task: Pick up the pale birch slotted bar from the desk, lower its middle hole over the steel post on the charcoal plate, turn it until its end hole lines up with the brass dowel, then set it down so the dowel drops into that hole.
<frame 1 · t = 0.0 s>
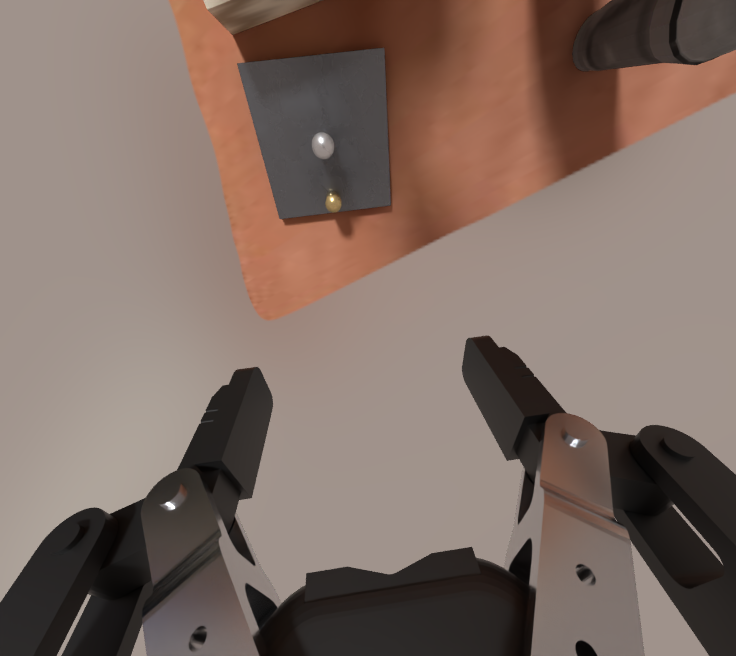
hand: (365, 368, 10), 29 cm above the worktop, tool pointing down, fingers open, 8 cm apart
grey tapered rounded cylinder: (593, 42, 28), on the worktop
mounting plate: (325, 144, 30), on the worktop
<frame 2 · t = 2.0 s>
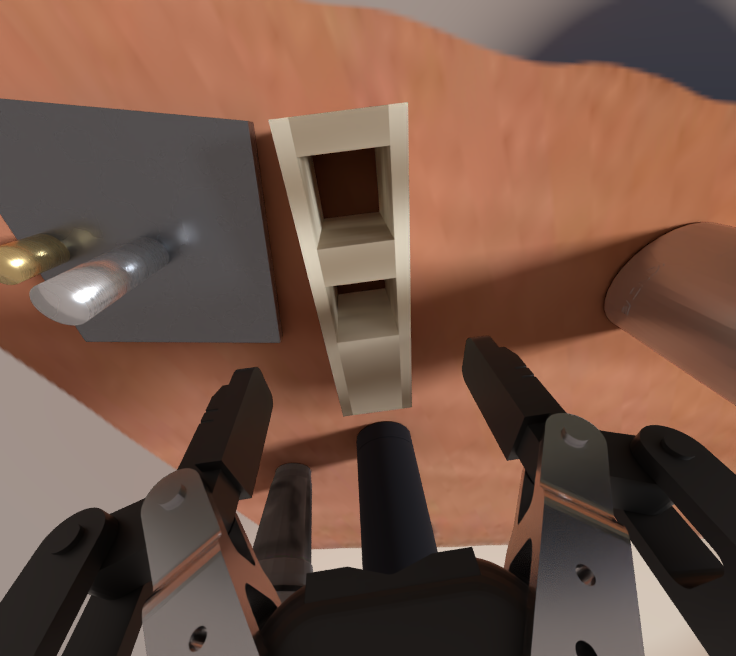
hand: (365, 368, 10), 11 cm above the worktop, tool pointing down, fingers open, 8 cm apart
wine bottle: (383, 436, 32), on the worktop
grey tapered rounded cylinder: (293, 470, 35), on the worktop
mounting plate: (159, 247, 17), on the worktop
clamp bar: (347, 183, 16), on the worktop
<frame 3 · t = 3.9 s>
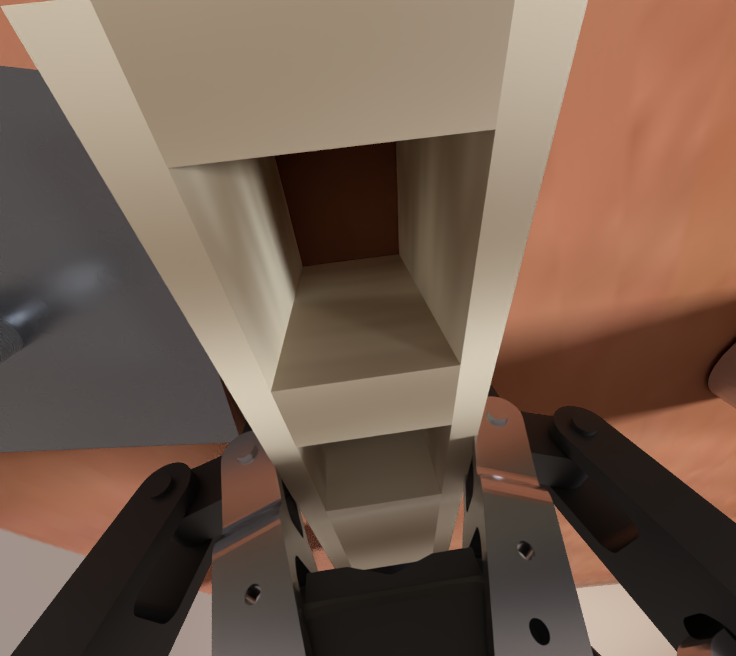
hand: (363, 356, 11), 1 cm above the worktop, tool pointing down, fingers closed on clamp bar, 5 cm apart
mounting plate: (12, 316, 10), on the worktop
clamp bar: (343, 208, 9), on the worktop, touching gripper
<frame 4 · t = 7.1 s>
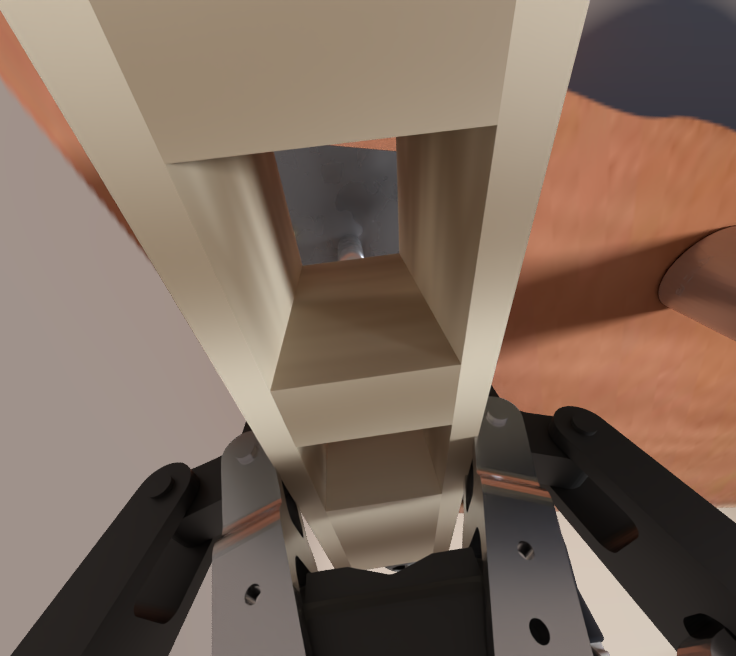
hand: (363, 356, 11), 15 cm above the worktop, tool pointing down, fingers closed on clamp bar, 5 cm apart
wine bottle: (462, 402, 38), on the worktop
mounting plate: (349, 243, 23), on the worktop
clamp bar: (343, 207, 9), point 14 cm above the worktop, touching gripper
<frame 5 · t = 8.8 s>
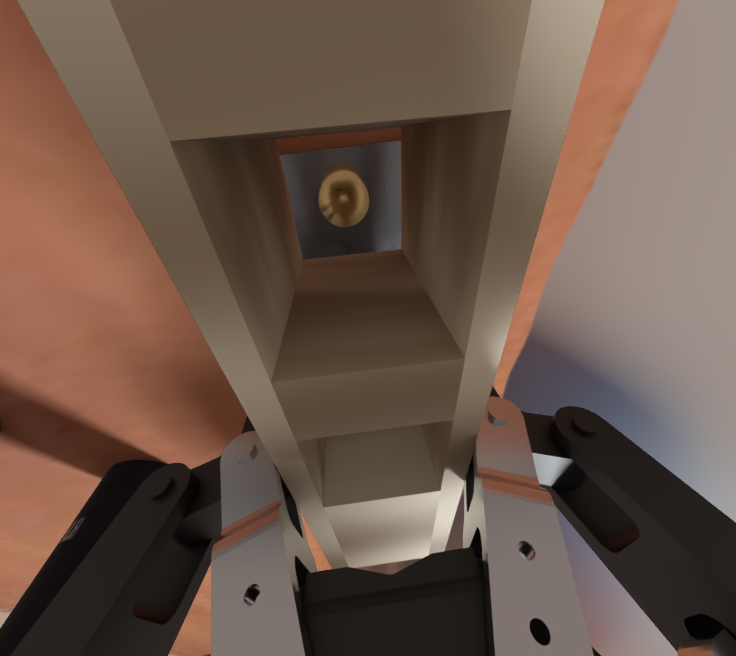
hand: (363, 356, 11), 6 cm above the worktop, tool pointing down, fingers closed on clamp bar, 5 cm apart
wine bottle: (149, 475, 26), on the worktop
mounting plate: (355, 287, 16), on the worktop
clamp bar: (346, 200, 9), point 5 cm above the worktop, touching gripper
when the fingers open (3 cm above the worktop, at t = 10.5 s): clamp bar drops 1 cm, resting on mounting plate.
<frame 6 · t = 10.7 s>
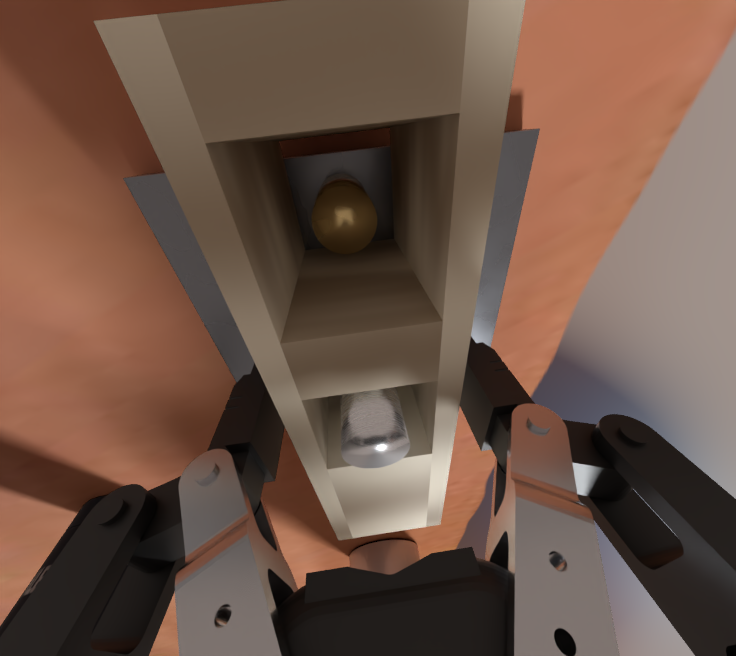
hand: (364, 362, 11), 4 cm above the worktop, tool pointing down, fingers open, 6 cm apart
wine bottle: (130, 508, 23), on the worktop
mounting plate: (358, 313, 14), on the worktop
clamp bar: (343, 195, 10), point 1 cm above the worktop, touching mounting plate
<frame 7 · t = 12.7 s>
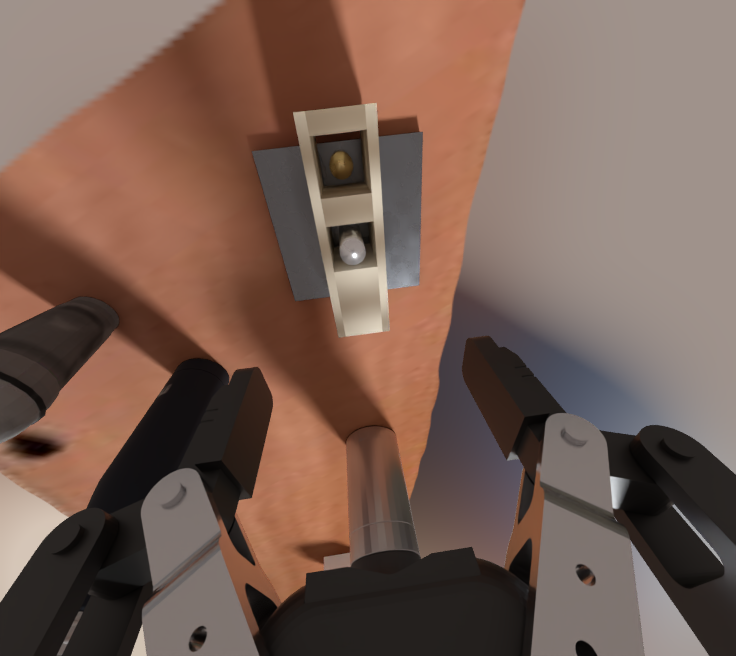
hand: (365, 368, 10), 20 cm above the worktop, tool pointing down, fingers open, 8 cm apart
wine bottle: (204, 374, 36), on the worktop
grey tapered rounded cylinder: (96, 313, 30), on the worktop
mounting plate: (348, 226, 27), on the worktop
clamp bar: (341, 160, 22), point 1 cm above the worktop, touching mounting plate
milk: (345, 558, 87), on the worktop
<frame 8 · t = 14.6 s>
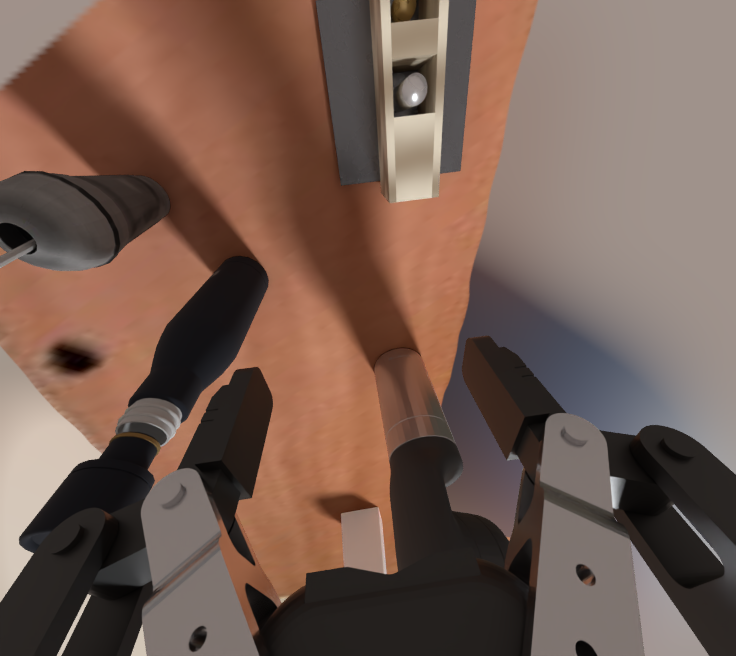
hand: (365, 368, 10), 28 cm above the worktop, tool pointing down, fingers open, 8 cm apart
wine bottle: (245, 277, 37), on the worktop
grey tapered rounded cylinder: (148, 197, 31), on the worktop
mounting plate: (397, 100, 28), on the worktop
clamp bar: (398, 14, 24), point 1 cm above the worktop, touching mounting plate
milk: (362, 516, 88), on the worktop
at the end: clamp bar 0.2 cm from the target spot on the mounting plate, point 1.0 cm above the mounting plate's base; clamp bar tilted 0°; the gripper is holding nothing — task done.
